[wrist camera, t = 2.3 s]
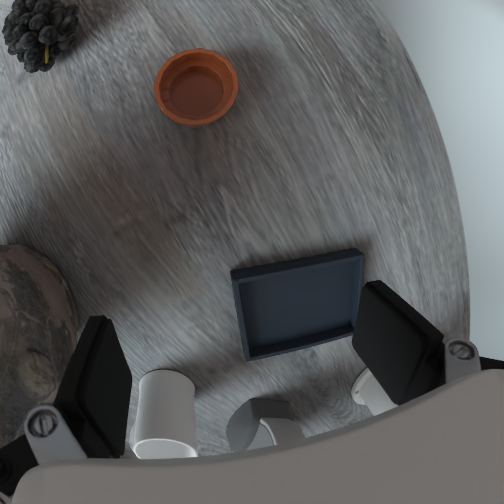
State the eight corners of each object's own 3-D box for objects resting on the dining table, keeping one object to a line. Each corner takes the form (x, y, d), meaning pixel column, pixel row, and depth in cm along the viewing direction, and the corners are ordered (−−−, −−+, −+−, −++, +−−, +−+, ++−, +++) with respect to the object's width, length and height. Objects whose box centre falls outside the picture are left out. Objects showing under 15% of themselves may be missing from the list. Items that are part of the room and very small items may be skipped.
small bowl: (227, 59, 25) (233, 44, 20) (235, 123, 28) (243, 118, 23) (158, 69, 24) (151, 56, 20) (165, 134, 27) (159, 131, 22)
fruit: (-23, 0, 7) (15, 60, 13) (39, -43, 9) (92, 5, 15) (-4, 35, 15) (37, 95, 21) (47, -3, 17) (96, 49, 22)
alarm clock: (265, 444, 48) (287, 519, 32) (216, 441, 45) (230, 524, 29) (302, 395, 44) (341, 482, 27) (246, 390, 41) (273, 492, 24)
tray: (355, 247, 36) (365, 254, 33) (351, 324, 40) (358, 333, 38) (229, 271, 33) (232, 280, 31) (243, 350, 38) (246, 361, 36)
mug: (148, 416, 40) (145, 475, 29) (113, 387, 37) (101, 450, 26) (206, 394, 40) (213, 458, 29) (172, 360, 37) (169, 430, 26)
